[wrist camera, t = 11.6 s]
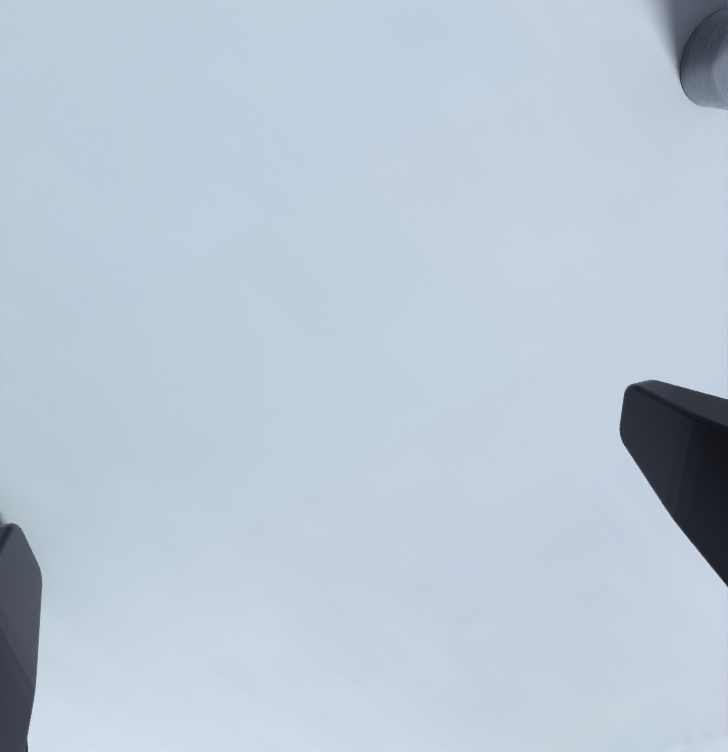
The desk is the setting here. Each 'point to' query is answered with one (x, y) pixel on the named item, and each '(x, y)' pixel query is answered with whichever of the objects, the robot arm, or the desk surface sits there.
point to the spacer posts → (707, 63)
